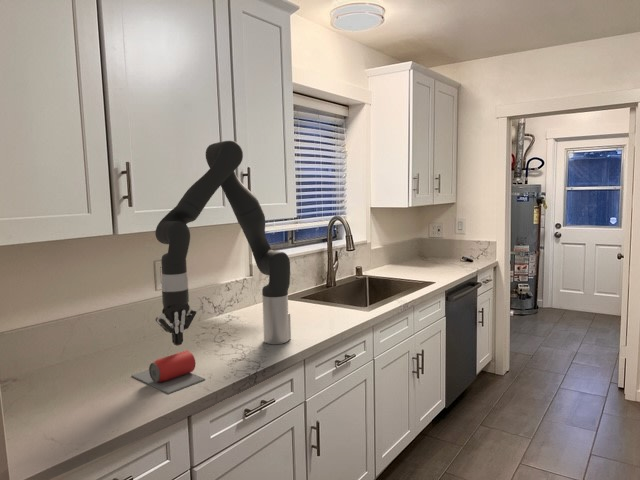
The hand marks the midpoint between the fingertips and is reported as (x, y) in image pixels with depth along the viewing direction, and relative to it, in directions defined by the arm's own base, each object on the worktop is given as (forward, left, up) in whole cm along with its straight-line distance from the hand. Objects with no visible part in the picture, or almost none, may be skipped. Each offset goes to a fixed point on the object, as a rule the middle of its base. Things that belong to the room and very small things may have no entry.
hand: (177, 344), depth 138 cm
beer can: (-3, +2, -6) cm, 7 cm away
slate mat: (+4, 0, -9) cm, 10 cm away
